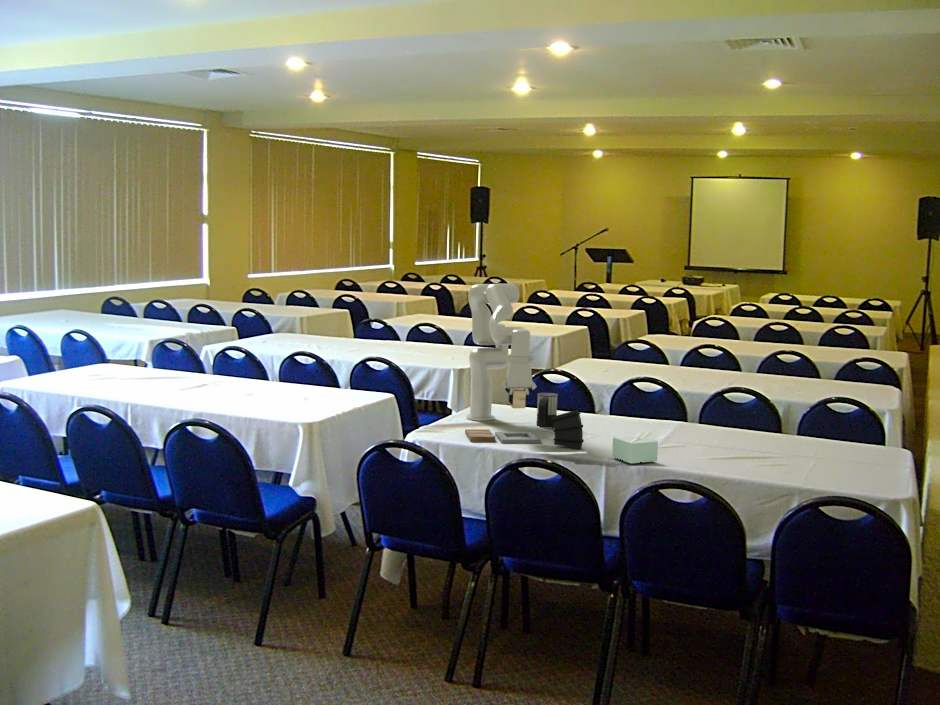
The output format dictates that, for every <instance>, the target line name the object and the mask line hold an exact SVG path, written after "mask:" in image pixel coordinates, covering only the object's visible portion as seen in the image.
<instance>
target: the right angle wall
mask: <svg viewBox="0 0 940 705" xmlns="http://www.w3.org/2000/svg"><path fill="white" fill-rule="evenodd" d="M658 449H659V441H658V440H653V441H641V442H631V441H629V440H628V441H627V440H625V439H622V438H619V437H612V450H611V451H612V452H611V453H612V455H611V456H613V457H612V458H614V457H616V458H615V459H617V458H618V459H617V460H620V459H621V460H620V461H622V460H623V462H626V463H629V464H639V463H640V462H642V463H650V462H657V461H658ZM640 464H641V463H640Z"/></svg>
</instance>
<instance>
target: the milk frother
mask: <svg viewBox="0 0 940 705" xmlns="http://www.w3.org/2000/svg"><path fill="white" fill-rule="evenodd" d="M558 396H559V394H558V393H554V392H538V393H537V408H536V411H537V414H536V425H537V426H536V427H538V426H539V427H538V428H542V427H553V428H552V429H554V424H553V422H551V420H552V418H551V417H554V416H557V415H558V413H557V412H558V408H557V407H558Z"/></svg>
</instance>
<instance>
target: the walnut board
mask: <svg viewBox="0 0 940 705" xmlns="http://www.w3.org/2000/svg"><path fill="white" fill-rule="evenodd" d="M465 434H466V435H465ZM464 435H465V436H466V437H467V439H468V440H469V441H470V443H496V436H495V434H493V432H492V431H491V430H490V429H486V428H485V429H482V428H481V429H476V428H475V429H473V428H471V429H470V428H469V429H465V430H464Z"/></svg>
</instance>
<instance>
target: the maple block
mask: <svg viewBox="0 0 940 705" xmlns="http://www.w3.org/2000/svg"><path fill="white" fill-rule="evenodd" d="M512 393H513V394H512V395H513V404H512V405H511V404H510V407H511V408H512V409H526V405H525V401H526V391H525V390H524V388H519V389H518V388H514V389H513V392H512Z"/></svg>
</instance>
